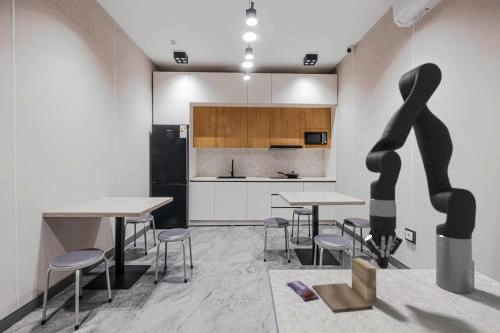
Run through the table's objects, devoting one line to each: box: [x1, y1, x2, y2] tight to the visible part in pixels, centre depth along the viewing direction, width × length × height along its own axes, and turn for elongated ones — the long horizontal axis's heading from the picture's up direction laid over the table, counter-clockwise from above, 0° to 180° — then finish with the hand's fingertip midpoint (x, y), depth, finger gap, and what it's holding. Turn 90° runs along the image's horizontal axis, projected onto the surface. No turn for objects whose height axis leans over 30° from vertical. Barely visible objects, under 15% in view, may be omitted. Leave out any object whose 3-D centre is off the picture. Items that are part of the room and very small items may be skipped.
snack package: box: [285, 280, 319, 301], centre depth 79 cm, size 12×2×5 cm
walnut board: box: [311, 282, 373, 313], centre depth 75 cm, size 12×14×1 cm
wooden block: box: [351, 257, 377, 303], centre depth 77 cm, size 3×8×10 cm, turn 9°
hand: (382, 267), depth 78 cm, fingers closed
